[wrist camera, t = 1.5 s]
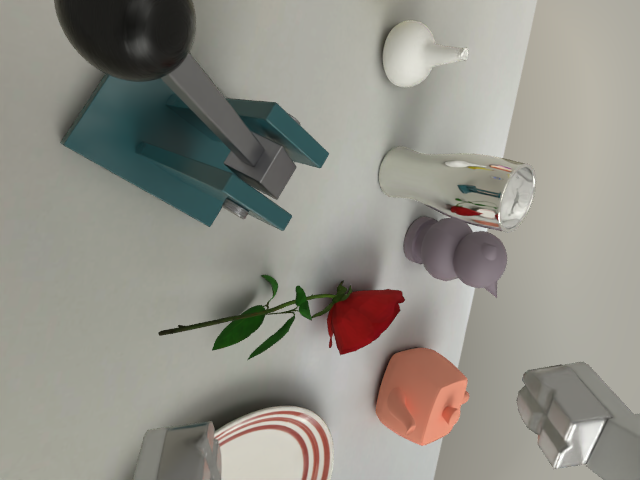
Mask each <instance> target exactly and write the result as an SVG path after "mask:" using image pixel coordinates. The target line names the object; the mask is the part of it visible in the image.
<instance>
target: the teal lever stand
mask: <svg viewBox="0 0 640 480" xmlns="http://www.w3.org/2000/svg"><path fill="white" fill-rule="evenodd" d="M225 99H226V100H227V101H228V103H229V104H230V105H231V106H232V108H233V109H234V110H235V112H236V113H237V114H238V115H239V117H240V118H241V119H242V121H243V122H244V123H245V124H246V126H247V127H248V128H249V130H251V131H253V132H255V133H257V134H259V135H261V136H263V137H265V138H267V139H269V140H271V141H274V142H276V143H278V144H280V145H282V146H283V148H284V149H285V151H286V152H287V154H288V155H289V157H290V158H291V160H292V161H294V162H298V163H302V164H306V165H309V166H313V167H317V168H321V167H322V165H323V164H324V162H325V160H326V158H327V157H328V155H329V153H328V152H327V151H326V150H325V149H324V148H323V147H322V146H321V145H320V144H319V143H318V142H317V141H316V140H315V139H314V138H313V137H312V136H310V135H309V134H308V133H307V132H306V131H305V130H304V129H303V128H302V127H301V126H300V123H299V122H298V120H297V119H295V118H294V117H293V116H291V115H290V114H288V113H287V112H286V111H285V110H283V109H282V108H281V107H280V106H279V105H278V104H277V103H276V102H264V101H252V100H240V99H229V98H225ZM61 144H63V145H64V146H66V147H68V148H69V149H71V150H73V151H75V152H77V153H78V154H80V155H82V156H84V157H85V158H87V159H89V160H91V161H93V162H94V163H96V164H98V165H100V166H102V167H103V168H105V169H107V170H109V171H110V172H112V173H114V174H116V175H118V176H119V177H121V178H123V179H125V180H127V181H128V182H130V183H132V184H134V185H136V186H137V187H139V188H141V189H143V190H144V191H146V192H148V193H150V194H152V195H153V196H155V197H157V198H159V199H161V200H162V201H164V202H166V203H168V204H169V205H171V206H173V207H175V208H177V209H178V210H180V211H182V212H184V213H186V214H187V215H189V216H191V217H193V218H195V219H196V220H198V221H200V222H202V223H203V224H205V225H207V226H209V227H210V226H211V225H212V223H213V221H214V220H215V218H216V217H217V215H218V213H219V212H220V210H221V208H222V207H223V208H225V209H226V210H228V211H230V212H231V213H233V214H235V215H236V216H238V217H240V218H242V219H245V218H246V216H247V215H248V214H249V215H251V216H253V217H255V218H257V219H259V220H261V221H263V222H265V223H267V224H269V225H271V226H273V227H275V228H277V229H279V230H281V231H284V230H285V228H286V226H287V224H288V223H289V221H290V219H291V218H292V215H291V214H289V213H288V212H287V211H285V210H284V209H282V208H281V207H280V206H278V205H277V204H275V203H274V202H272V201H271V200H270V199H268V198H267V197H265V196H264V195H263V194H261V193H260V192H258V191H257V190H256V189H254V188H253V187H251V186H250V185H249V184H247V183H246V182H244V181H243V180H241V179H240V178H239V177H238V176H236V175H235V174H234V173H233V172H232V171H231V170H230V169H229V168H228V167H227V166H226V165H224V161H225V160H226V158H227V156H228V155H229V153H230V152H231V150H230V149H229V148H228V147H227V146H226V145H225V144H224V143H223V142H222V141H221V140H220V139H219V138H218V137H217V136H216V135H215V134H214V133H213V132H212V131H211V130H210V129H209V128H208V127H207V126H206V124H205V123H204V122H203V121H202V120H201V119H200V118H199V117H198V116H197V115H196V114H195V113H194V112H193V111H192V110H191V109H190V108H189V107H188V106H187V105H186V104H185V103H184V102H183V101H182V100H181V99H180V98H179V97H178V96H177V95H176V94H175V93H174V92H173V91H172V89H171V88H170V87H169V86H168V85H167V84H166V83H165V82H164V81H163V80H162V79H161V78H160V79H156V80H152V81H146V82H132V81H127V80H122V79H118V78H116V77H113V76H110V75H108V74H105V76H104V77H103V79H102V80H101V82H100V83H99V85H98V86H97V88H96V89H95V91H94V92H93V94H92V95H91V97H90V98H89V100H88V101H87V103H86V104H85V106H84V108H83V109H82V111H81V112H80V114H79V115H78V117H77V118H76V120H75V121H74V123H73V124H72V126H71V127H70V129H69V130H68V132H67V133H66V135H65V136H64V138H63V139H62V141H61Z"/></svg>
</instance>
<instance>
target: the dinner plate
mask: <svg viewBox="0 0 640 480" xmlns="http://www.w3.org/2000/svg"><path fill="white" fill-rule="evenodd" d="M214 438H215V439H217V440H218V441H219V445H220V450H221V460H222V473H221V480H330V479H331V474H332V469H333V460H334V450H333V441H332V437H331V434H330V431H329V429H328V427H327V425H326V423H325V422H324V421H323V420H322V418H320V417H319V416H318V415H317V414H316V413H314V412H312V411H310V410H308V409H306V408H302V407H298V406H276V407H270V408H265V409H261V410H258V411H255V412H252V413H249V414H246V415H244V416H242V417H239V418H237V419H235V420H233V421H231V422H229V423H227V424H226V425H224V426H222V427H221V428H219V429H218V430H216V431H214Z"/></svg>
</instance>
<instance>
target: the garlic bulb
mask: <svg viewBox="0 0 640 480" xmlns="http://www.w3.org/2000/svg"><path fill="white" fill-rule="evenodd" d="M467 50H468V48H467V47H466V48H464V49H463V48H457V47H449V46H443V45H439V44H436V43H435V39H434V37H433V34H432V33H431V31H430V29H429V28H428V27H427V26H425V25H424V24H423V23H421V22H418V21H414V20H409V21H404V22H401V23H399V24H397V25H396V26H395V27H394V28H393V29H392V30H391V32H390V33H389V35H388V37H387V39H386V41H385V45H384V50H383V66H384V70H385V73H386V75H387V77H388V79H389V80H390V81H391V82H392V83H393V84H395V85H396V86H399V87H412V86H415V85H417V84H419V83H421V82H422V81H423V80H424V79H425V78H426V77H427V76H428V75H429V73H430V72H431V70H432V68H433V67H434V66H438V65H442V64H447V63H453V62H457V61H460V60H463V61H465V60H466V59H467V58H468V55H469V54H468V53H467V52H469V50H468V51H467Z"/></svg>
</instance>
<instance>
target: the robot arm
mask: <svg viewBox="0 0 640 480" xmlns="http://www.w3.org/2000/svg"><path fill="white" fill-rule="evenodd" d="M522 381H523V382H524V384H525V386H524V387H523V388H522V389H521V390H520V391H519V392H518V397H517V405H518V411H519V413H520V415H521V418H522V420H523V422H524V423H525V425H526V427H527V428H529V429H530V430H531V431H533V432H534V433H536V434H538V445H539V447H540V448H541V450H542V452H543V453H544V455H545V456H546V458H547V459H548V461H549V463H550V464H551V465H552V467H553V469H557V468H564V467H571V466H578V465H584V464H587V465H586V467H588V468H589V469H590V470H592V471H593V472H594V473H596V474H597V475H598V476H599V477H601V478H602V479H603V480H640V414H633V413H632V412H631V410H630V409H629V408H628V407H627V406H626V405H625V404H624V403H623V402H622V401H621V400H620V398H619V397H618V396H617V395H616V394H615V393H614V392H613V391H612V390H611V389H610V388H609V387H608V385H607V384H606V383H605V382H604V381H603V380H602V379H601V378H600V377H599V376H598V375H597V373H596V372H594V370H593V369H592V368H591V367H590V366H589V365H588V364H586V363H584V362H577V363H572V364H566V365H556V366H550V367H545V368H539V369H533V370H528V371H527V372H525V373H524V375H523V378H522ZM214 431H215V429H214V426H213V423H212V421H207V422H200V423H193V424H186V425H178V426H171V427H163V428H157V429H151V430H147V432H146V434H145V436H144V437H143V441H142V445H141V449H140V453H139V457H138V461H137V465H136V469H135V473H134V477H133V480H221V473H222V460H221V450H220V445H219V441H218V440H217V439H215V438H214Z"/></svg>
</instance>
